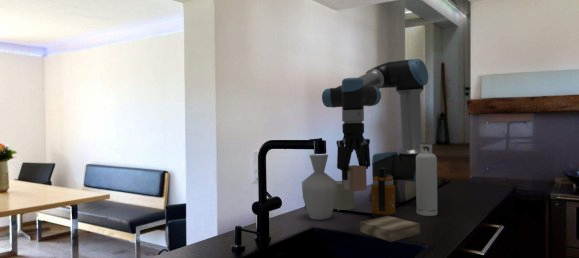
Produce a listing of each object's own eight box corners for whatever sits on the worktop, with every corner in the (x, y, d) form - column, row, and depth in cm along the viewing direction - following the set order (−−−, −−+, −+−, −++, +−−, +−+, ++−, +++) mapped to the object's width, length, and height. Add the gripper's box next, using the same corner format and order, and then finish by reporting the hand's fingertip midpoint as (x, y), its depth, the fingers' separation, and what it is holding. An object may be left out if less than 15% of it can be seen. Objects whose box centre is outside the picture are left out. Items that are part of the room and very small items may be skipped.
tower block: (342, 189, 139) (341, 166, 139) (355, 187, 142) (354, 165, 142) (353, 191, 134) (353, 168, 134) (366, 189, 137) (366, 166, 137)
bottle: (438, 211, 162) (437, 144, 162) (436, 216, 155) (435, 145, 155) (417, 210, 166) (416, 144, 165) (415, 214, 159) (414, 145, 158)
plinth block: (359, 233, 136) (359, 221, 136) (388, 226, 144) (388, 215, 144) (391, 243, 124) (390, 230, 124) (420, 235, 132) (420, 223, 132)
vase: (318, 211, 168) (317, 152, 167) (345, 216, 158) (343, 154, 157) (294, 217, 158) (293, 155, 157) (321, 223, 148) (320, 157, 147)
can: (345, 211, 166) (344, 183, 166) (329, 208, 173) (328, 181, 173) (358, 208, 172) (358, 180, 172) (342, 205, 179) (342, 178, 179)
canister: (396, 215, 157) (395, 165, 157) (394, 222, 147) (393, 169, 147) (373, 214, 160) (372, 165, 160) (369, 221, 150) (368, 168, 149)
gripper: (338, 122, 129) (340, 193, 130) (380, 121, 140) (381, 186, 140) (324, 123, 136) (326, 189, 136) (365, 121, 146) (367, 184, 146)
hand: (354, 188), depth 138 cm, fingers closed on tower block, 6 cm apart
